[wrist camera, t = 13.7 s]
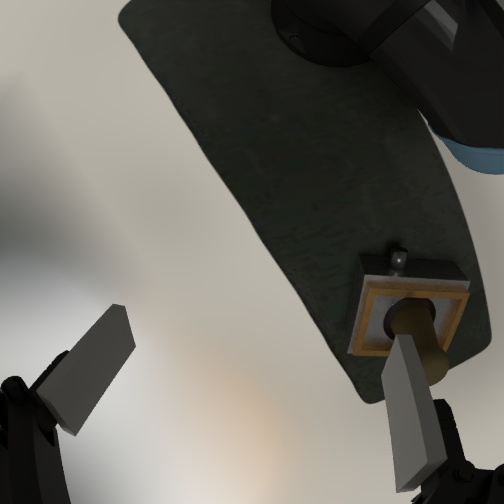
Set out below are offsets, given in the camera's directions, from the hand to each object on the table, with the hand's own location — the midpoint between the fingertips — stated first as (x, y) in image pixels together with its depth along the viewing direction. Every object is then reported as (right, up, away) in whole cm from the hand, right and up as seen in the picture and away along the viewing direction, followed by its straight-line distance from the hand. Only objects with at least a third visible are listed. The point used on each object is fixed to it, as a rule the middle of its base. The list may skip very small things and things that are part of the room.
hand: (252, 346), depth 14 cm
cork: (+22, -5, +23) cm, 32 cm away
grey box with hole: (+23, -1, +28) cm, 36 cm away
